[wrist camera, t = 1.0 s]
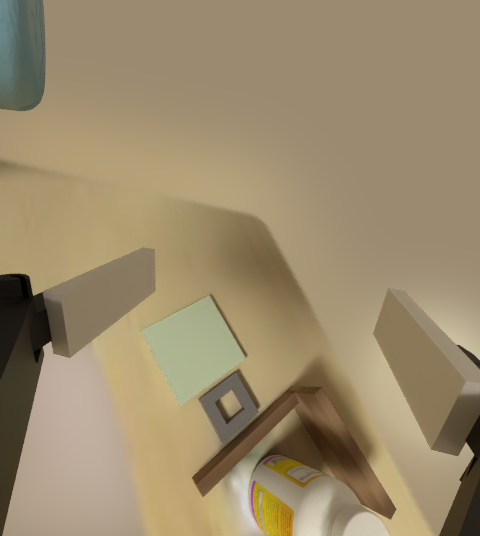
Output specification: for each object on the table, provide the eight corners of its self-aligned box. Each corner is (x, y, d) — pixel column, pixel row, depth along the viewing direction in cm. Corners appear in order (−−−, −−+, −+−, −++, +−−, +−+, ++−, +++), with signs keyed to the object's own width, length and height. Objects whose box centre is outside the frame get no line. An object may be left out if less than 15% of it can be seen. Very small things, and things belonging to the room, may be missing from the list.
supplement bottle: (276, 549, 26) (385, 669, 15) (233, 496, 26) (309, 577, 15) (310, 483, 29) (418, 542, 19) (272, 438, 30) (355, 470, 19)
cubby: (192, 477, 25) (208, 501, 20) (291, 386, 33) (321, 387, 28) (263, 620, 23) (301, 685, 18) (352, 488, 31) (396, 508, 26)
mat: (141, 331, 29) (141, 330, 28) (208, 296, 33) (209, 295, 33) (179, 405, 27) (180, 406, 27) (244, 358, 32) (245, 358, 32)
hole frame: (198, 399, 28) (200, 399, 28) (233, 372, 31) (236, 372, 30) (221, 441, 28) (223, 443, 27) (255, 411, 30) (258, 411, 30)
